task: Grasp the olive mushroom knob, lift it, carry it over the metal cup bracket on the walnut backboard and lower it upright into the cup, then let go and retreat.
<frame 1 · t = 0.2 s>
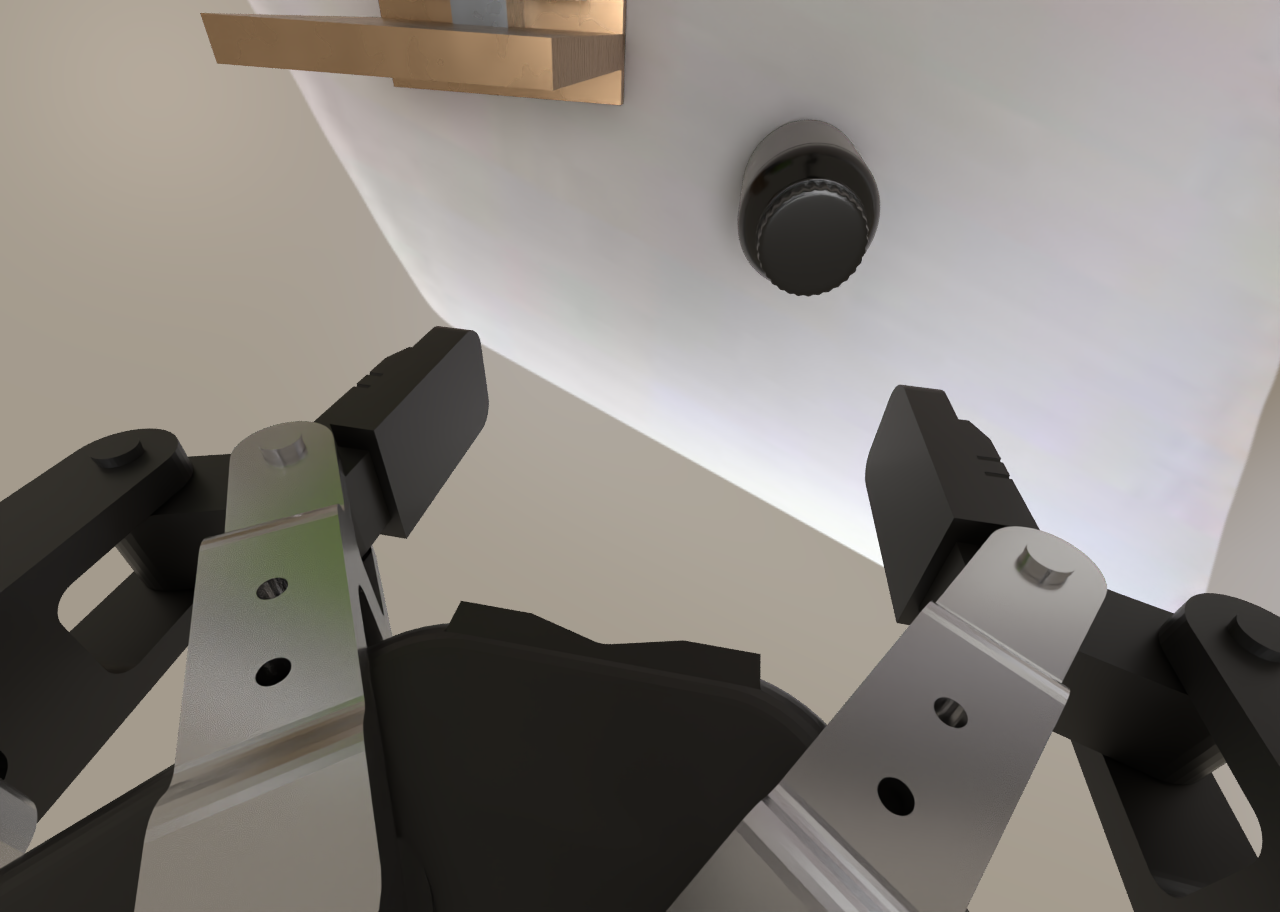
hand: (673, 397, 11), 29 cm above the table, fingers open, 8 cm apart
supplement bottle: (798, 182, 34), on the table
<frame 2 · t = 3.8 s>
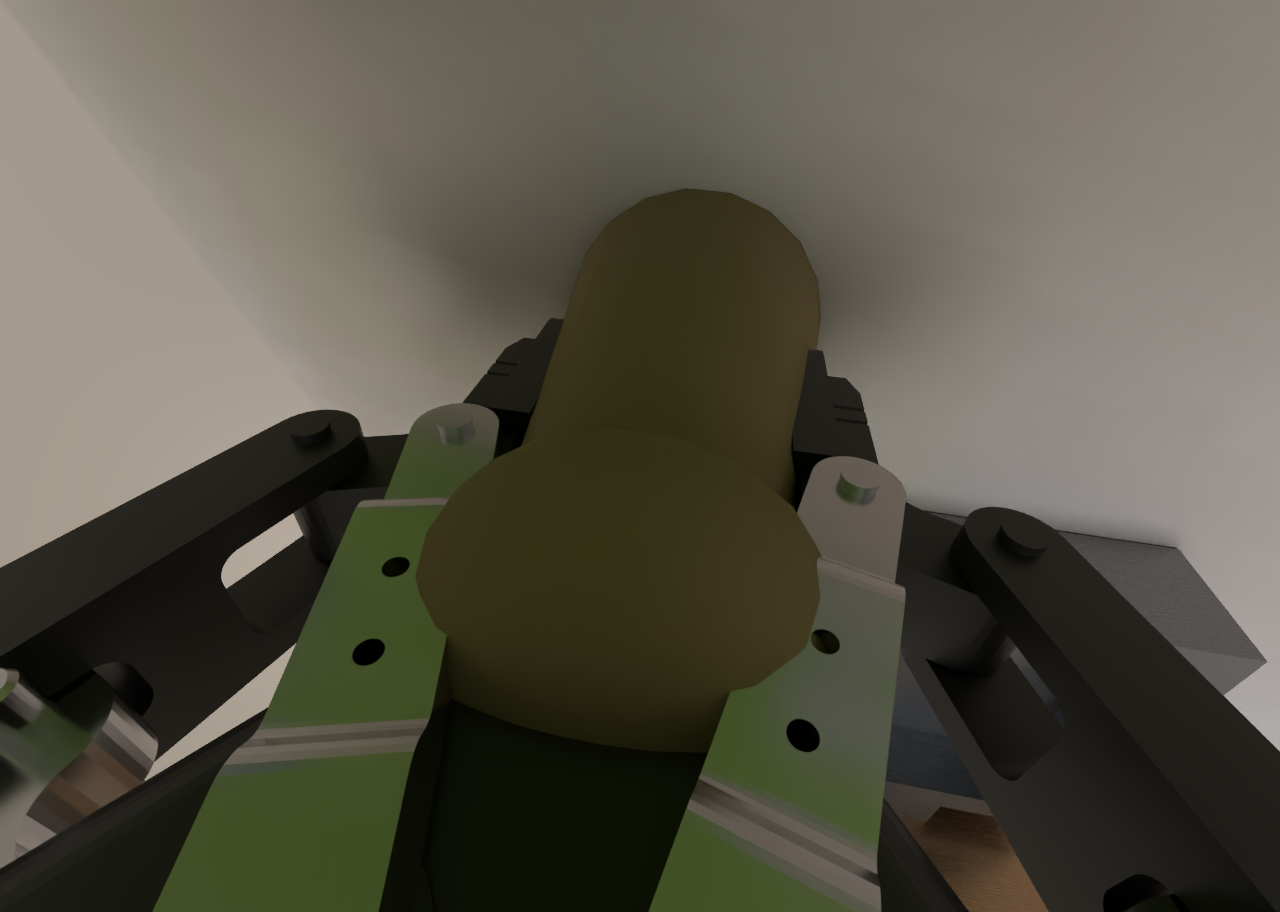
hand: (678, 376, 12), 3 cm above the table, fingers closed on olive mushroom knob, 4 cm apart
olive mushroom knob: (693, 317, 14), on the table, touching gripper
bracket: (925, 626, 19), on the table
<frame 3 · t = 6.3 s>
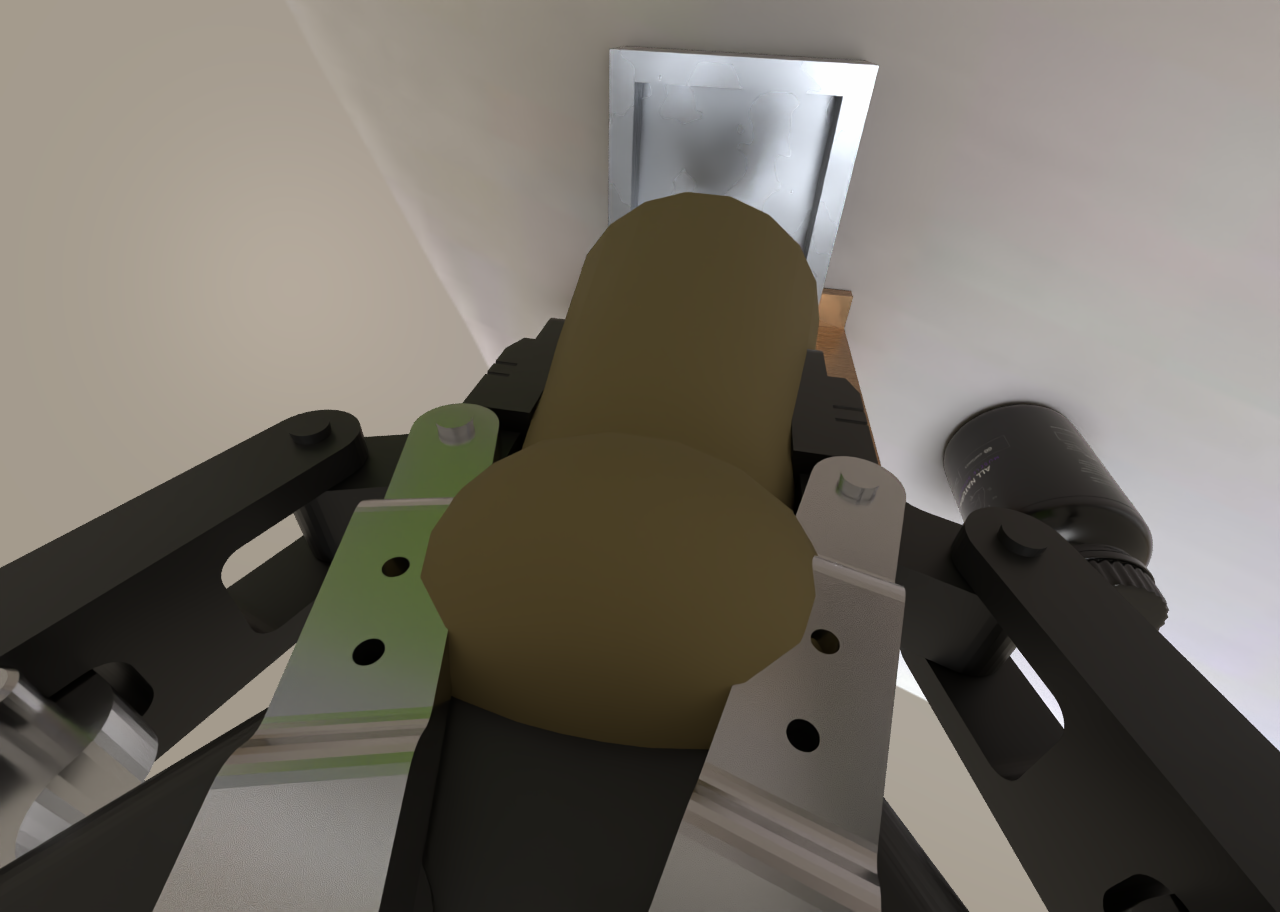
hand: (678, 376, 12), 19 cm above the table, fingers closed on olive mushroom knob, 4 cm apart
olive mushroom knob: (693, 319, 14), point 16 cm above the table, touching gripper
bracket: (726, 182, 27), on the table
supplement bottle: (1003, 447, 33), on the table
when the fingers open (6 cm above the table, at t = 9.1 s): olive mushroom knob drops 2 cm, resting on bracket.
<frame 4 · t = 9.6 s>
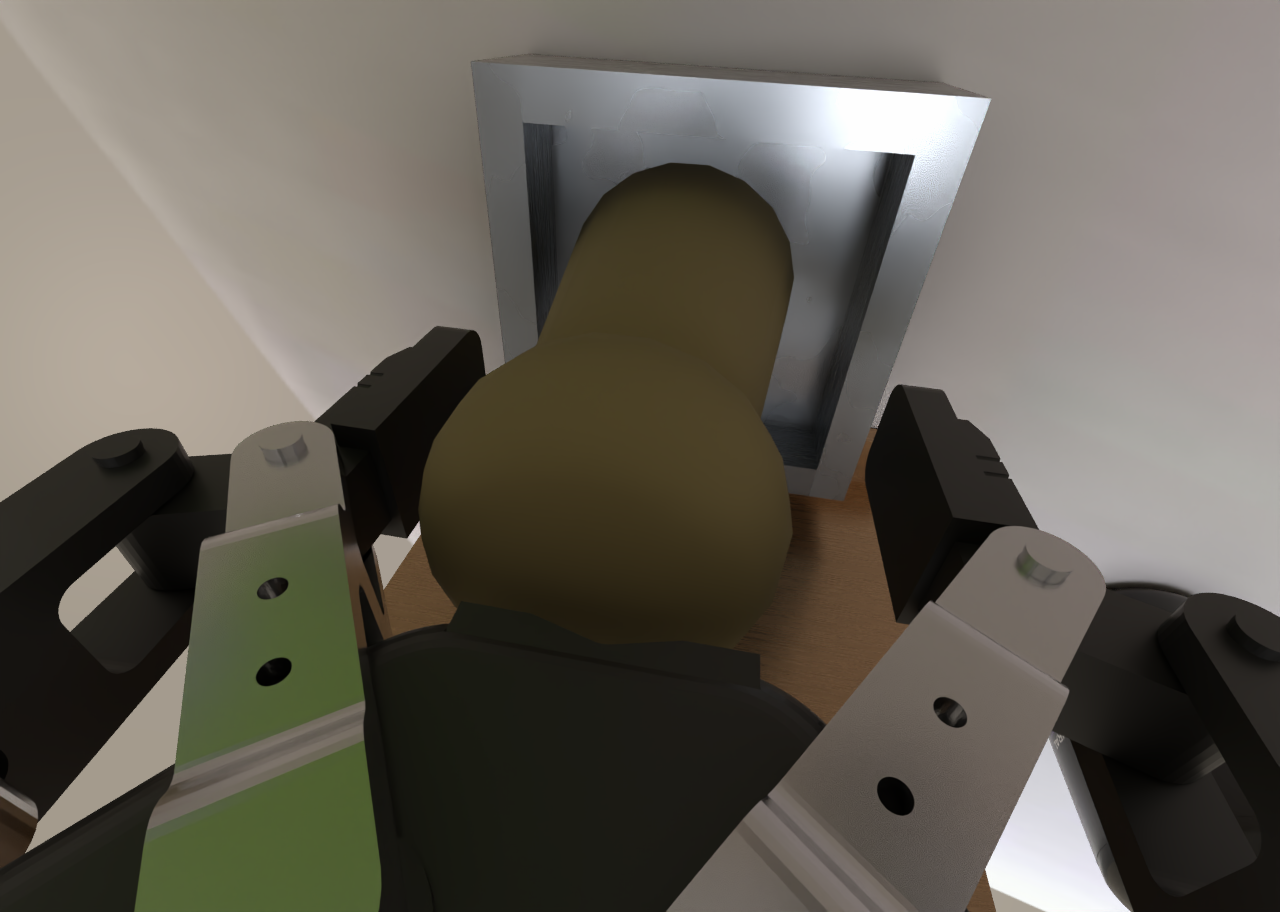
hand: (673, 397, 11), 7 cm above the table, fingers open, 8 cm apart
olive mushroom knob: (681, 281, 16), point 1 cm above the table, touching bracket
bracket: (703, 272, 17), on the table
supplement bottle: (1106, 633, 23), on the table
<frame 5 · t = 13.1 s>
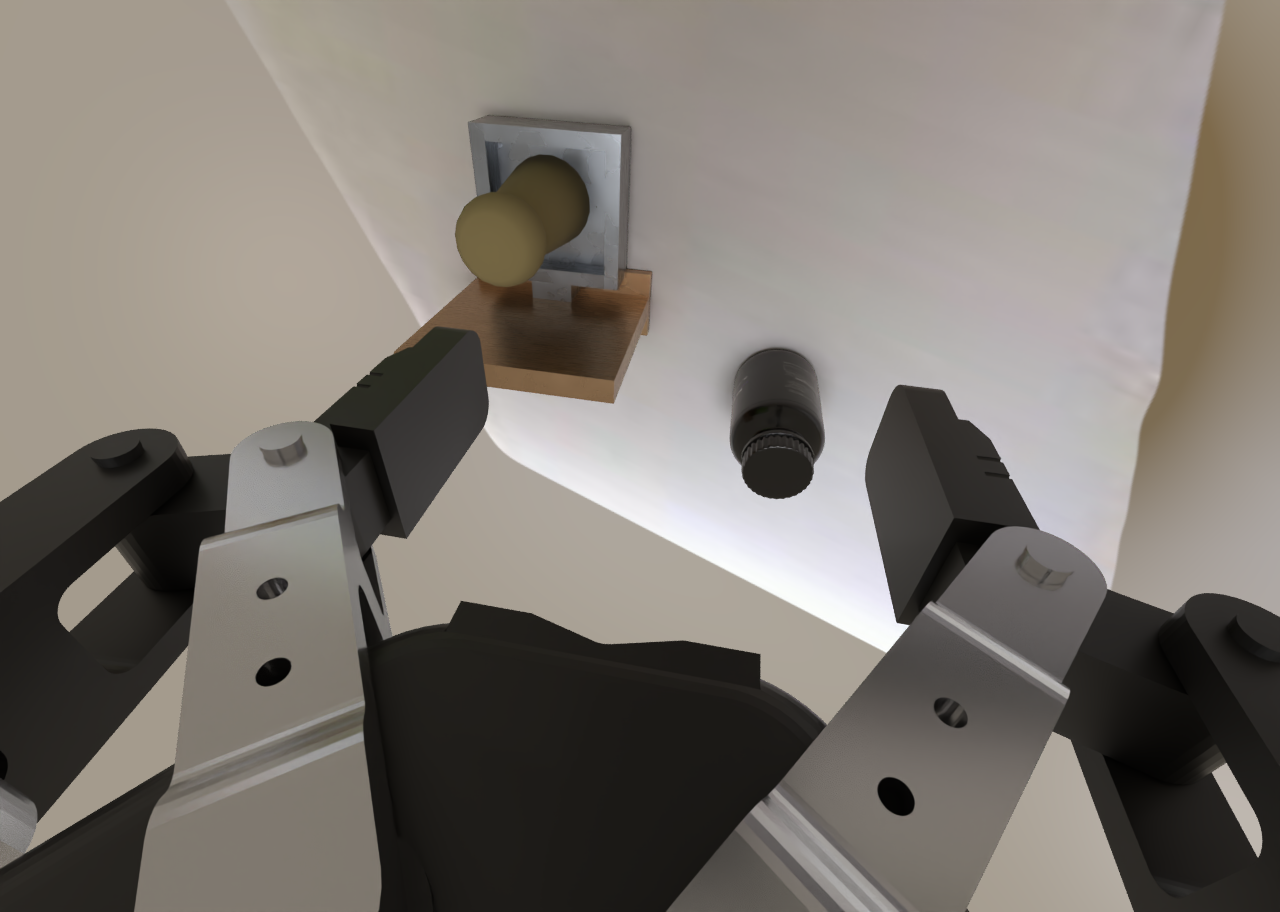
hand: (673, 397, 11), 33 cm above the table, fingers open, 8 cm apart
olive mushroom knob: (549, 200, 40), point 1 cm above the table, touching bracket
bracket: (561, 199, 41), on the table
supplement bottle: (774, 382, 48), on the table
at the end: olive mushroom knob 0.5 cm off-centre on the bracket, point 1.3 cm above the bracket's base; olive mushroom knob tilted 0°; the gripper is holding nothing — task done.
